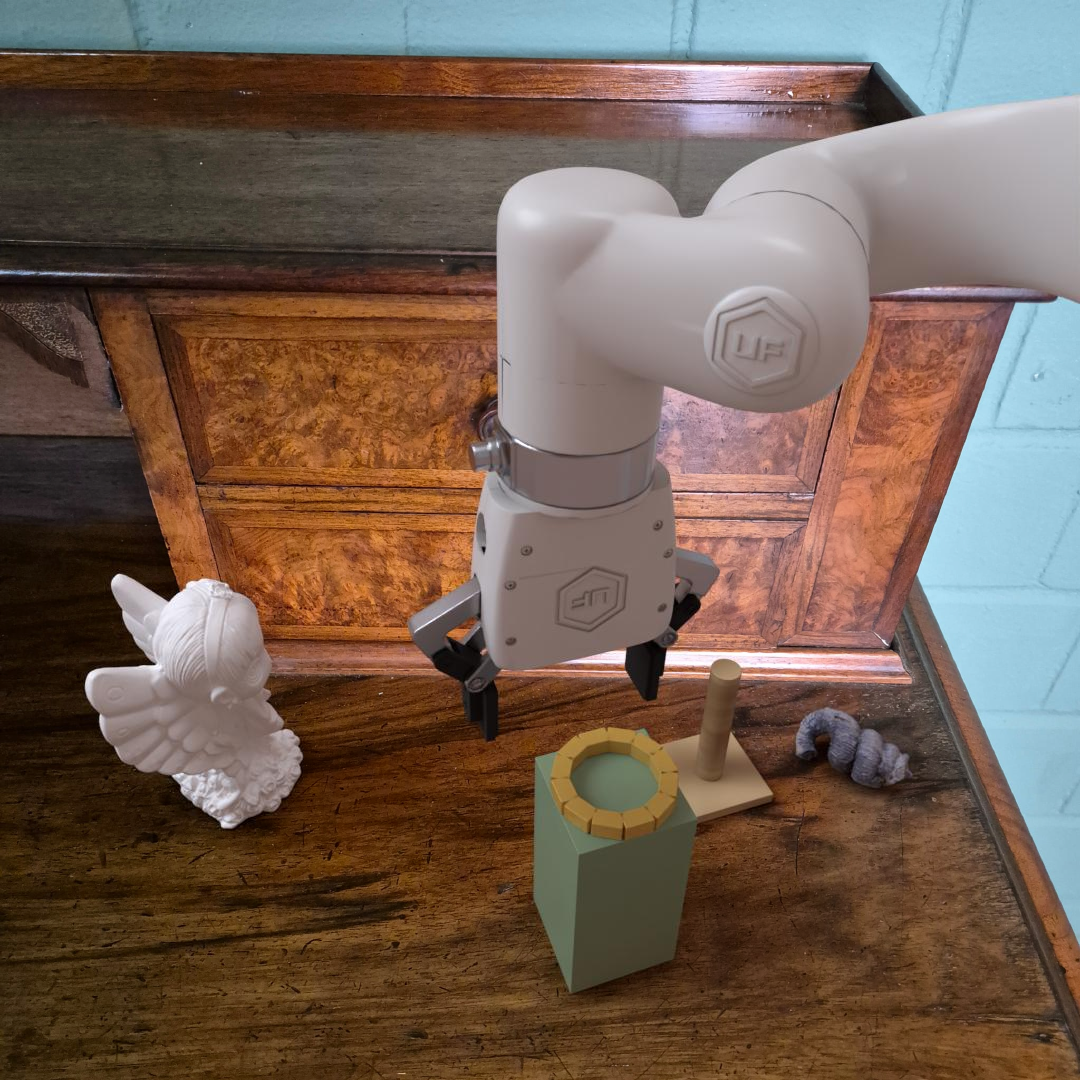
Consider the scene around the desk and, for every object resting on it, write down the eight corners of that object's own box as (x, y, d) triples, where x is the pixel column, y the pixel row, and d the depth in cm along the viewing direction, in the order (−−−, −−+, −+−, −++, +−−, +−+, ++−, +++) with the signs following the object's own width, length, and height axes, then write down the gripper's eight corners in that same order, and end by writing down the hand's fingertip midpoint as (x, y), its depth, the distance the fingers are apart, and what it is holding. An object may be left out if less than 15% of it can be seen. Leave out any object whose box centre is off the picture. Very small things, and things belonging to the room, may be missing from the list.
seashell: (789, 755, 86) (900, 805, 82) (785, 748, 81) (903, 801, 77) (812, 701, 87) (922, 748, 83) (809, 691, 82) (927, 740, 78)
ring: (698, 819, 59) (700, 806, 58) (578, 854, 57) (579, 842, 56) (644, 727, 65) (646, 715, 64) (534, 757, 63) (534, 744, 62)
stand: (674, 959, 69) (698, 819, 59) (570, 994, 66) (578, 854, 57) (629, 868, 75) (644, 727, 65) (533, 897, 72) (534, 757, 63)
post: (771, 801, 80) (798, 691, 72) (686, 827, 78) (704, 716, 70) (726, 733, 86) (746, 625, 78) (645, 756, 84) (658, 647, 76)
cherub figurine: (299, 836, 77) (258, 654, 65) (138, 855, 75) (66, 673, 63) (305, 717, 87) (271, 541, 75) (164, 732, 85) (107, 555, 74)
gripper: (416, 525, 40) (435, 791, 50) (777, 460, 44) (727, 714, 55) (379, 438, 45) (403, 693, 55) (703, 389, 50) (670, 631, 60)
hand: (564, 703), depth 55 cm, fingers open, 9 cm apart
